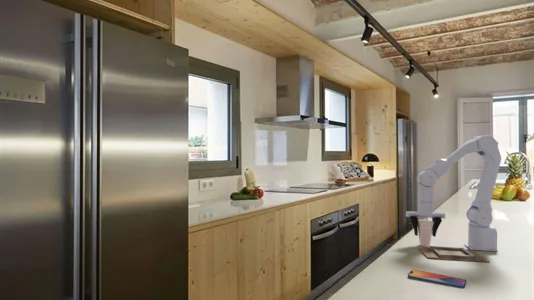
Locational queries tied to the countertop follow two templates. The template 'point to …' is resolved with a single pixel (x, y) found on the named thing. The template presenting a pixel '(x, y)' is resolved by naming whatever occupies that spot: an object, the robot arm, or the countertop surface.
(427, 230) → the smoothie
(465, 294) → the countertop surface
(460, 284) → the smartphone
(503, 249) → the countertop surface
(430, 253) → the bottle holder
